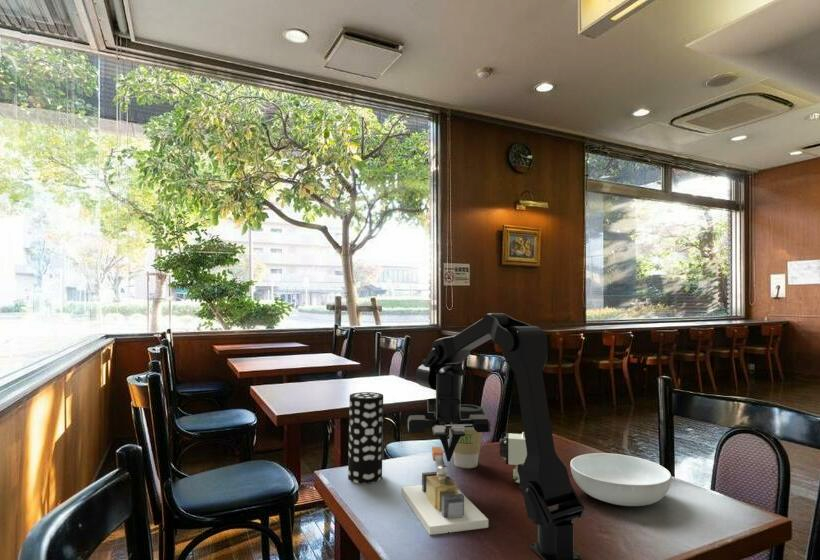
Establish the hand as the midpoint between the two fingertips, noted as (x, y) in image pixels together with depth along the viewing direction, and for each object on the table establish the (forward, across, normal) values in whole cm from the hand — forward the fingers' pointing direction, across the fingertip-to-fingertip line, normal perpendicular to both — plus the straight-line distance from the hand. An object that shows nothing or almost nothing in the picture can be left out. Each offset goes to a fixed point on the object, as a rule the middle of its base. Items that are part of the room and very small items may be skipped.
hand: (448, 461), depth 113 cm
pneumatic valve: (+7, -19, -5) cm, 21 cm away
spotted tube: (+6, +20, -8) cm, 22 cm away
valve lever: (0, +3, +4) cm, 5 cm away
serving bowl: (+7, -38, +5) cm, 39 cm away
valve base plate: (+6, +3, +10) cm, 13 cm away
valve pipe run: (+5, +3, +11) cm, 12 cm away
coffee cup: (+7, -7, -18) cm, 20 cm away
